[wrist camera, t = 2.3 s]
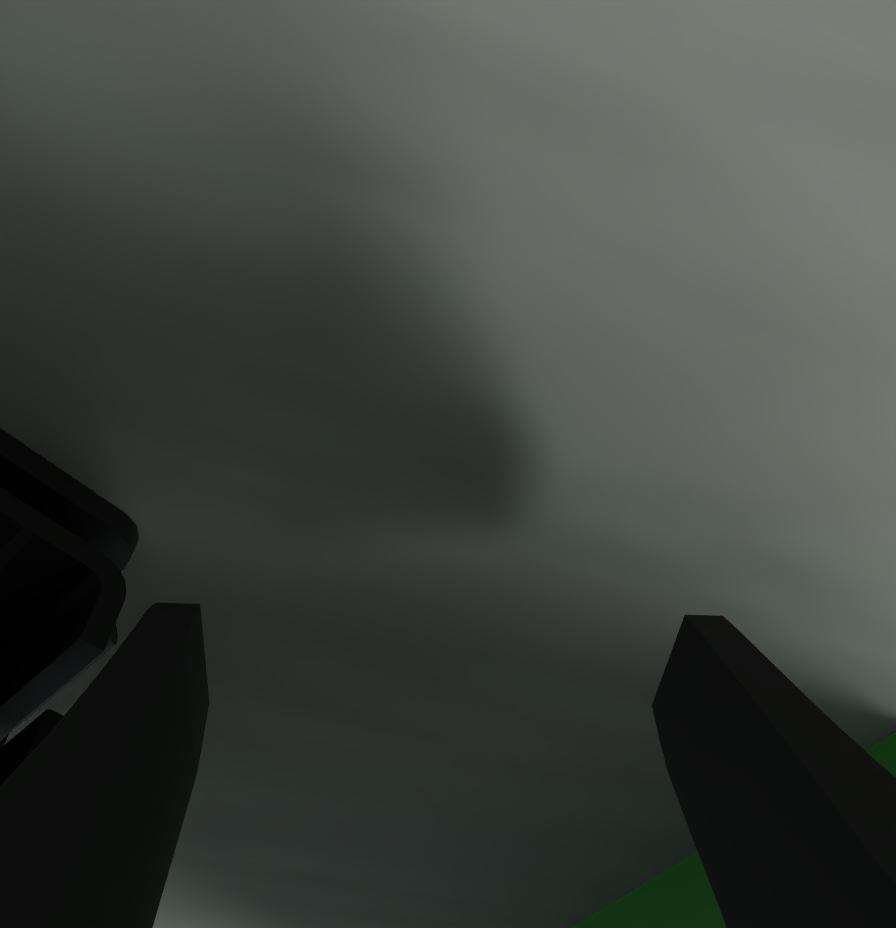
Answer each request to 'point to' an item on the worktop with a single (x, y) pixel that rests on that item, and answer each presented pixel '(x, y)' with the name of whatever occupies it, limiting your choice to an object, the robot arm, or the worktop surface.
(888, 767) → the green box
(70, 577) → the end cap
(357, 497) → the worktop surface
